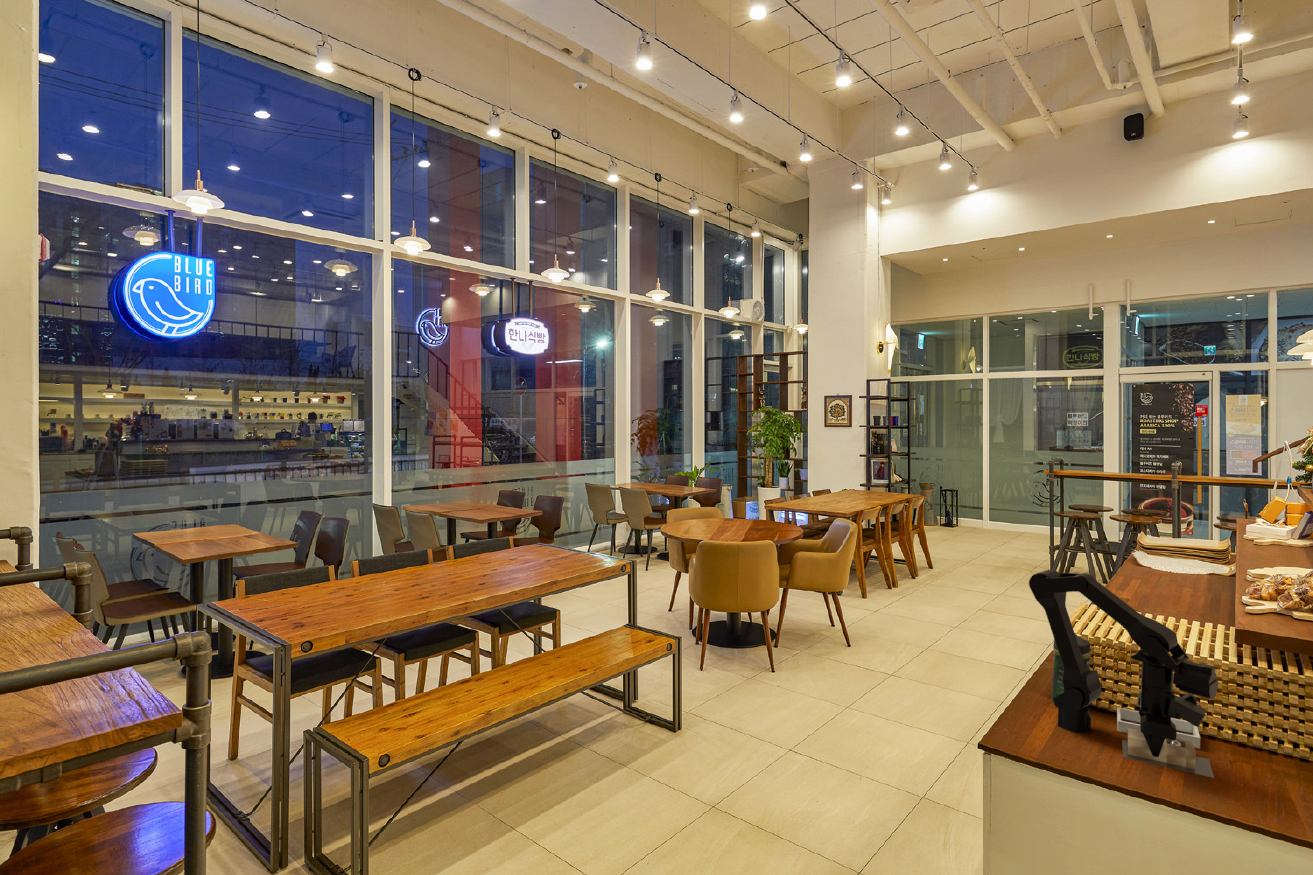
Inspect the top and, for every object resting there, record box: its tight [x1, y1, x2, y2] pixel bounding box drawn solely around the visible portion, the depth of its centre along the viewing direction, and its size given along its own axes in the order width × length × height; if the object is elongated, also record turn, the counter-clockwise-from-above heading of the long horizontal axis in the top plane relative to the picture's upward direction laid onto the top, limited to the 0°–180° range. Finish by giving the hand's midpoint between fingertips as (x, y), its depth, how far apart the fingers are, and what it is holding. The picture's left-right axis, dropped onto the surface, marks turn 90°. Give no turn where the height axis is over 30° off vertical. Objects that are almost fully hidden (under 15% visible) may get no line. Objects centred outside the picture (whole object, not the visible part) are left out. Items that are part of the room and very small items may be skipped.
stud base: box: [1121, 739, 1215, 779], centre depth 152 cm, size 16×9×5 cm, turn 57°
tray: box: [1116, 706, 1201, 750], centre depth 164 cm, size 16×9×4 cm, turn 57°
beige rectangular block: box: [1127, 728, 1197, 769], centre depth 153 cm, size 12×5×4 cm, turn 57°
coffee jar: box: [1051, 635, 1092, 703], centre depth 182 cm, size 10×8×19 cm
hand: (1154, 750), depth 154 cm, fingers closed on beige rectangular block, 5 cm apart
